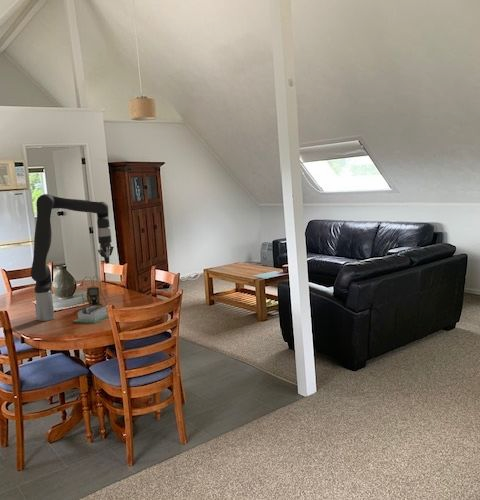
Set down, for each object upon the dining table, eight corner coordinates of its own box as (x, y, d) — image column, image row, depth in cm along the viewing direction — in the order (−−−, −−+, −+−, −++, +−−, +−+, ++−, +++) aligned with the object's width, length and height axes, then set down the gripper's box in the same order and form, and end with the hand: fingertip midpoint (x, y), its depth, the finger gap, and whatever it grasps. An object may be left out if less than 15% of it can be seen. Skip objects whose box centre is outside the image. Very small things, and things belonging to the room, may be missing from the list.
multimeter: (82, 310, 314) (78, 280, 311) (83, 306, 324) (80, 276, 320) (105, 308, 317) (102, 277, 314) (106, 304, 326) (103, 274, 323)
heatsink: (72, 321, 291) (71, 309, 289) (93, 312, 308) (92, 301, 307) (95, 323, 285) (94, 311, 284) (115, 314, 302) (113, 302, 301)
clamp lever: (89, 313, 289) (89, 310, 289) (84, 312, 291) (84, 310, 290) (101, 308, 300) (101, 305, 300) (97, 307, 301) (96, 305, 301)
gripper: (105, 233, 306) (108, 261, 308) (92, 236, 294) (95, 265, 296) (116, 233, 303) (118, 261, 306) (102, 236, 291) (105, 265, 294)
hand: (107, 263), depth 301 cm, fingers closed
